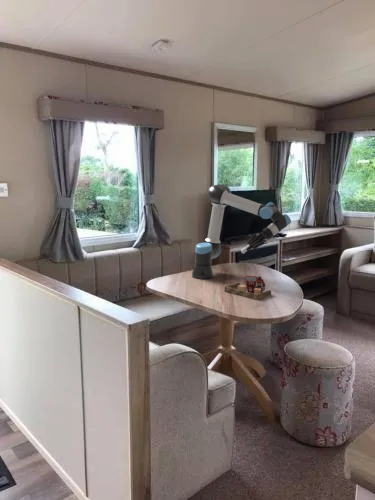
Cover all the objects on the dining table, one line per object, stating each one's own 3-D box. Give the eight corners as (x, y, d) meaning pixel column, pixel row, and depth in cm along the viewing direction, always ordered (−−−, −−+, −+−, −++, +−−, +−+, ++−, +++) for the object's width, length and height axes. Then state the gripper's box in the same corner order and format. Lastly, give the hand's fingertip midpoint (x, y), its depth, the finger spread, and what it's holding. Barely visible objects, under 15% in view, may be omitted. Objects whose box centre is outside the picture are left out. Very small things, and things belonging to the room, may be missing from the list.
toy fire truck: (264, 294, 254) (265, 278, 252) (244, 292, 256) (245, 276, 254) (264, 291, 261) (266, 275, 259) (245, 289, 263) (246, 274, 261)
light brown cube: (237, 285, 257) (242, 284, 260) (237, 291, 258) (241, 290, 260) (242, 287, 254) (246, 286, 256) (241, 293, 255) (246, 292, 257)
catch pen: (224, 291, 258) (224, 286, 257) (238, 286, 269) (238, 282, 268) (257, 300, 242) (257, 295, 242) (270, 295, 253) (271, 290, 253)
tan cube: (253, 295, 250) (254, 289, 250) (254, 294, 254) (254, 287, 254) (260, 296, 250) (261, 290, 249) (260, 294, 254) (261, 288, 253)
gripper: (263, 223, 278) (234, 243, 276) (274, 231, 267) (244, 252, 265) (266, 231, 282) (238, 251, 280) (277, 239, 272) (248, 260, 270)
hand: (241, 251), depth 273 cm, fingers closed
